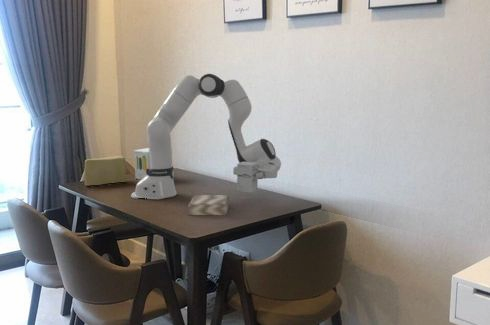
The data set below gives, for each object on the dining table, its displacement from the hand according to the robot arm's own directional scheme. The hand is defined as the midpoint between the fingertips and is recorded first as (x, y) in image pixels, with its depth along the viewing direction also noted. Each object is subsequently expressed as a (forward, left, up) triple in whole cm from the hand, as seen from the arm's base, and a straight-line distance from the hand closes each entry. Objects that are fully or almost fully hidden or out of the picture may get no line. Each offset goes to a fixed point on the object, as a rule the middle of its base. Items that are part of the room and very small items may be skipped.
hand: (246, 174), depth 227 cm
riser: (-17, -6, -15) cm, 23 cm away
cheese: (-82, +51, -15) cm, 97 cm away
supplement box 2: (0, +1, -8) cm, 8 cm away
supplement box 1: (-58, +63, -15) cm, 87 cm away
